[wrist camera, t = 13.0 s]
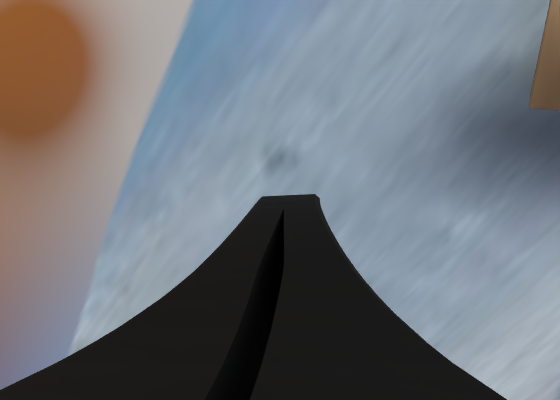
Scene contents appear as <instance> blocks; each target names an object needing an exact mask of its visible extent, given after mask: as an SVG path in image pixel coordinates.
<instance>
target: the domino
mask: <svg viewBox="0 0 560 400" xmlns="http://www.w3.org/2000/svg"><path fill="white" fill-rule="evenodd" d="M529 108H535V109H548V110H560V0H550V4H549V9H548V13H547V18H546V23H545V28H544V33H543V37H542V42H541V47H540V52H539V56H538V61H537V66H536V71H535V76H534V80H533V85H532V90H531V96H530V103H529Z"/></svg>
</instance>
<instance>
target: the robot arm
mask: <svg viewBox="0 0 560 400" xmlns="http://www.w3.org/2000/svg"><path fill="white" fill-rule="evenodd" d="M0 400H507V399H505V398H504V397H502V396H501V395H499V394H498V393H496V392H495V391H493V390H492V389H491V388H489V387H488V386H486V385H485V384H483V383H482V382H480V381H479V380H477V379H476V378H474V377H473V376H471V375H470V374H468V373H467V372H465V371H464V370H462V369H461V368H459V367H458V366H456V365H455V364H453V363H452V362H451V361H449V360H448V359H447V358H446V357H444V356H443V355H442V354H441V353H439V352H438V351H437V350H436V349H434V348H433V347H432V346H430V345H429V344H428V343H427V342H426V341H425V340H424V339H422V338H421V337H420V336H419V335H418V334H417V333H416V332H415V331H414V330H412V329H411V328H410V327H409V326H408V325H407V324H406V323H405V322H404V321H403V320H401V319H400V318H399V317H398V316H397V315H396V314H395V313H394V312H393V311H392V310H391V309H390V308H389V307H388V306H387V305H386V304H385V303H384V302H383V301H382V300H381V299H380V298H379V296H378V295H377V294H376V293H375V292H374V291H373V290H372V288H371V287H370V286H369V285H368V284H367V283H366V281H365V280H364V279H363V278H362V276H361V275H360V274H359V273H358V271H357V270H356V269H355V267H354V266H353V264H352V263H351V262H350V260H349V259H348V257H347V256H346V254H345V253H344V251H343V250H342V248H341V247H340V245H339V243H338V242H337V240H336V238H335V236H334V235H333V233H332V231H331V229H330V227H329V225H328V223H327V221H326V219H325V216H324V214H323V211H322V209H321V205H320V198H319V197H317V196H316V195H315V194H307V195H285V196H264V197H261V198H260V199H259V200H258V201H257V203H256V204H255V205H254V206H253V207H252V209H251V210H250V211H249V212H248V214H247V215H246V216H245V217H244V219H243V220H242V221H241V222H240V223H239V224H238V226H237V227H236V228H235V229H234V230H233V231H232V233H231V234H230V235H229V236H228V237H227V238H226V239H225V240H224V241H223V243H222V244H221V245H220V246H219V247H218V248H217V249H216V250H215V251H214V252H213V253H212V254H211V255H210V256H209V257H208V258H207V259H206V260H205V261H204V262H203V263H202V264H201V265H200V266H199V267H198V268H197V269H196V270H195V271H194V272H193V273H191V274H190V275H189V276H188V277H187V278H186V279H184V280H183V281H182V282H181V283H180V284H178V285H177V286H176V287H175V288H173V289H172V290H171V291H170V292H168V293H167V294H166V295H165V296H163V297H162V298H161V299H159V300H158V301H157V302H155V303H154V304H152V305H151V306H149V307H148V308H146V309H145V310H143V311H142V312H141V313H139V314H138V315H136V316H135V317H133V318H132V319H130V320H129V321H127V322H126V323H124V324H123V325H122V326H120V327H118V328H117V329H115V330H114V331H112V332H110V333H109V334H107V335H105V336H104V337H102V338H100V339H99V340H97V341H95V342H93V343H92V344H90V345H88V346H86V347H85V348H83V349H81V350H79V351H77V352H76V353H74V354H72V355H70V356H68V357H66V358H65V359H63V360H61V361H59V362H57V363H55V364H53V365H51V366H49V367H47V368H45V369H43V370H41V371H39V372H37V373H34V374H32V375H30V376H28V377H26V378H24V379H22V380H20V381H18V382H16V383H14V384H12V385H10V386H8V387H6V388H4V389H2V390H0Z"/></svg>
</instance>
